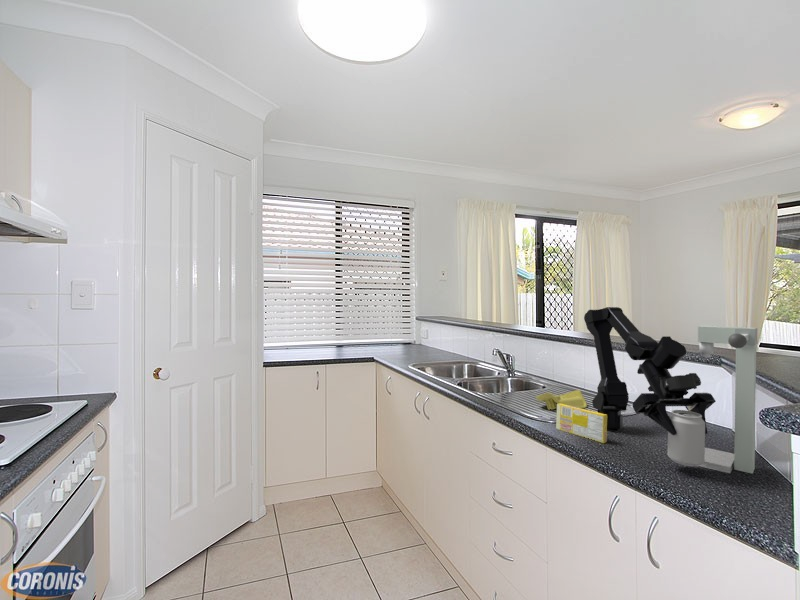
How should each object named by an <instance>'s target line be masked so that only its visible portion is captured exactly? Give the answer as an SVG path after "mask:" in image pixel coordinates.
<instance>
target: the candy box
mask: <svg viewBox="0 0 800 600" xmlns="http://www.w3.org/2000/svg"><path fill="white" fill-rule="evenodd" d="M556 405H557V408H556V421H555V422H556V423H555V429H556V430H559V431H562V432H566V433H568V432H569V434H572V435H576V436H579V437H582V438H584V437H585V439H588V438H589V440H591V439H592V441H594V440H595V442H598V443H601V444H605V443H607V440H608V439H607V435H608V434H607V433H608V430H607V415H606V414H602V413H598V412H597V411H592V410H589V409H586V408H582V409H581V408H577V407H573V406H569V405H565V404H561V403H559V404H556Z"/></svg>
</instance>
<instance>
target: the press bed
mask: <svg viewBox="0 0 800 600" xmlns="http://www.w3.org/2000/svg"><path fill="white" fill-rule="evenodd" d="M698 467H701V468H706V469H710V470H715V471H718V472H722V473H726V474H731V473H732V471H733V470H734V453H732V452H727V451H723V450H718V449H715V448H709V447H705V459H704V463H702V464H700V465H699V466H698Z"/></svg>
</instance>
